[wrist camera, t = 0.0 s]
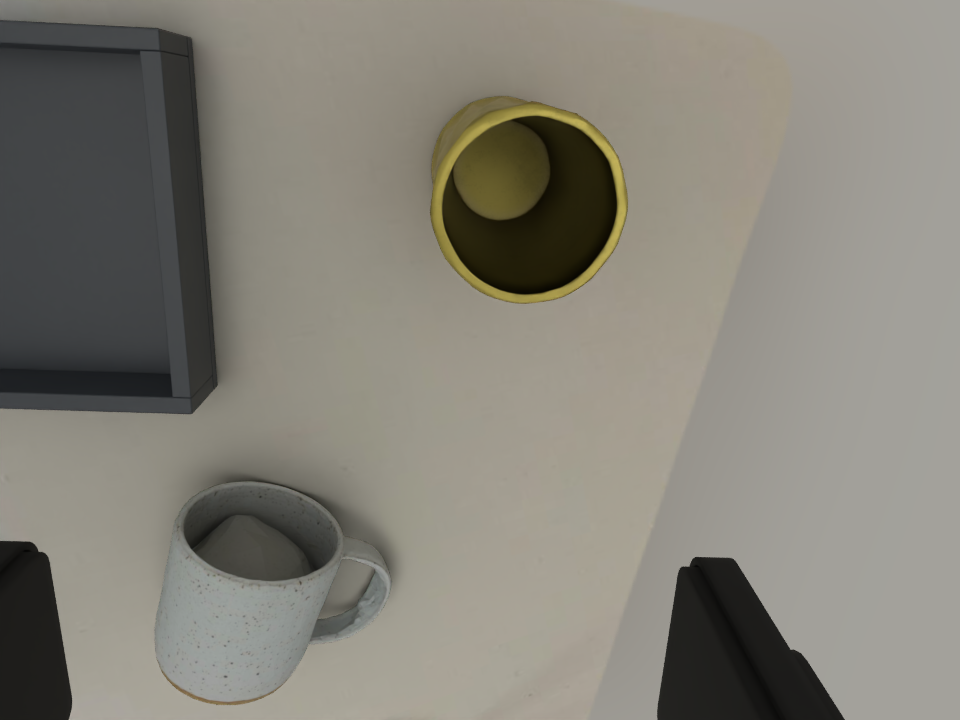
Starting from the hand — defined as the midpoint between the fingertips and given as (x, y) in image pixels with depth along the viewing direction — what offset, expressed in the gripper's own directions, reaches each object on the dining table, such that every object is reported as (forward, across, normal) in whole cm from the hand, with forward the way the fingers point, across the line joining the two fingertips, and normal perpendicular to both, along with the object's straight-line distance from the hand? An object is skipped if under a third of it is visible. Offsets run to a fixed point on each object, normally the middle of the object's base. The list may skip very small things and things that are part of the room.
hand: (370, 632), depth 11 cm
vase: (+25, -3, -5) cm, 25 cm away
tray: (+25, +21, -2) cm, 32 cm away
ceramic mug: (+25, +7, +15) cm, 30 cm away
